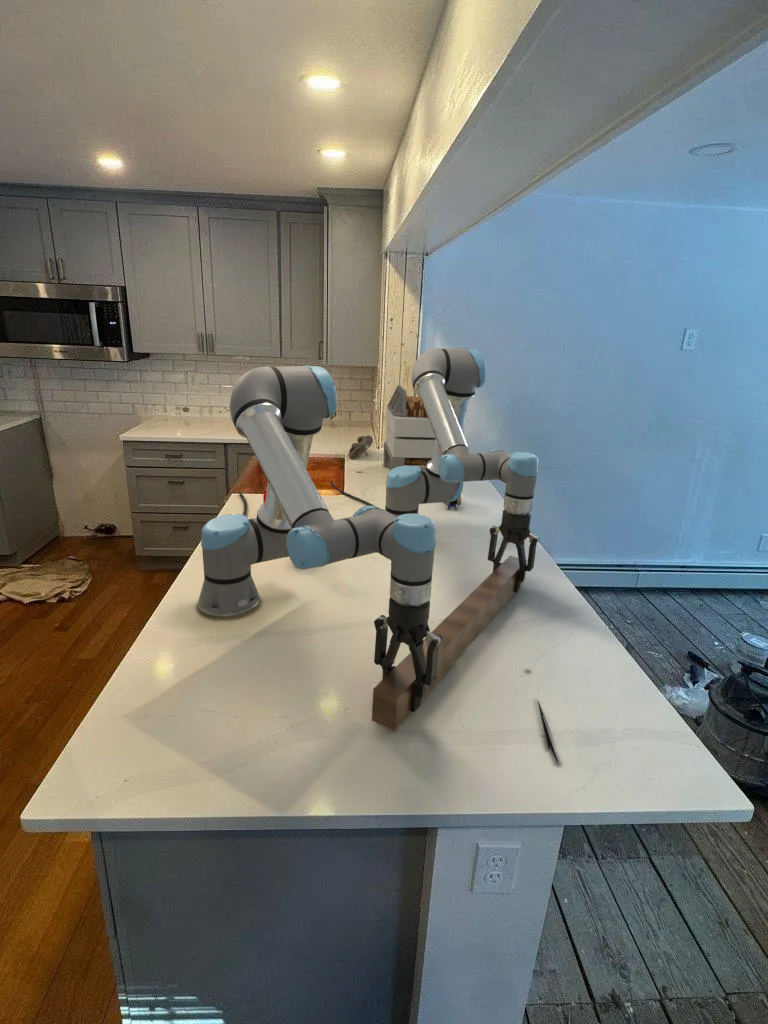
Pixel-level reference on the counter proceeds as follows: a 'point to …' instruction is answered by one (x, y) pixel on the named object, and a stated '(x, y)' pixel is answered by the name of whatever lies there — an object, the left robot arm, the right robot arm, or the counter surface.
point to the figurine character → (454, 503)
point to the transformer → (407, 432)
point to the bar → (445, 644)
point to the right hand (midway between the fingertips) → (507, 587)
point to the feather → (547, 731)
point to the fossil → (360, 446)
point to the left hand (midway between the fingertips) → (402, 702)
